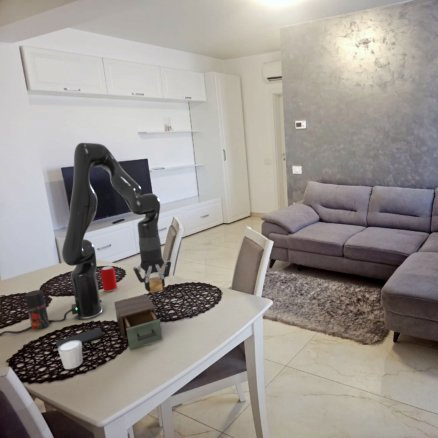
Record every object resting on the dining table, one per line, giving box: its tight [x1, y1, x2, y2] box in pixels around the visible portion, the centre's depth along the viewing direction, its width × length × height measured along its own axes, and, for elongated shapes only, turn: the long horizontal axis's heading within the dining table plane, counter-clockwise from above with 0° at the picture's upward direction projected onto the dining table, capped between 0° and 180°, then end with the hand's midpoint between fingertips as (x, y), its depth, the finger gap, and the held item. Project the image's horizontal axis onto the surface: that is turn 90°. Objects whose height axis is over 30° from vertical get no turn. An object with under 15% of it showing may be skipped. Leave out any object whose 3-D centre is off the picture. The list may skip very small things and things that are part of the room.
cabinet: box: [113, 293, 157, 340], centre depth 145 cm, size 16×13×10 cm
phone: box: [55, 327, 104, 349], centre depth 137 cm, size 7×1×15 cm
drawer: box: [123, 310, 163, 350], centre depth 134 cm, size 19×11×8 cm, turn 33°
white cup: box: [57, 340, 84, 370], centre depth 121 cm, size 7×7×7 cm
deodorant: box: [24, 289, 50, 332], centre depth 146 cm, size 6×6×15 cm
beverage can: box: [100, 265, 118, 293], centre depth 182 cm, size 6×6×12 cm
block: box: [148, 275, 164, 294], centre depth 139 cm, size 4×4×4 cm
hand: (155, 289), depth 139 cm, fingers closed on block, 4 cm apart
